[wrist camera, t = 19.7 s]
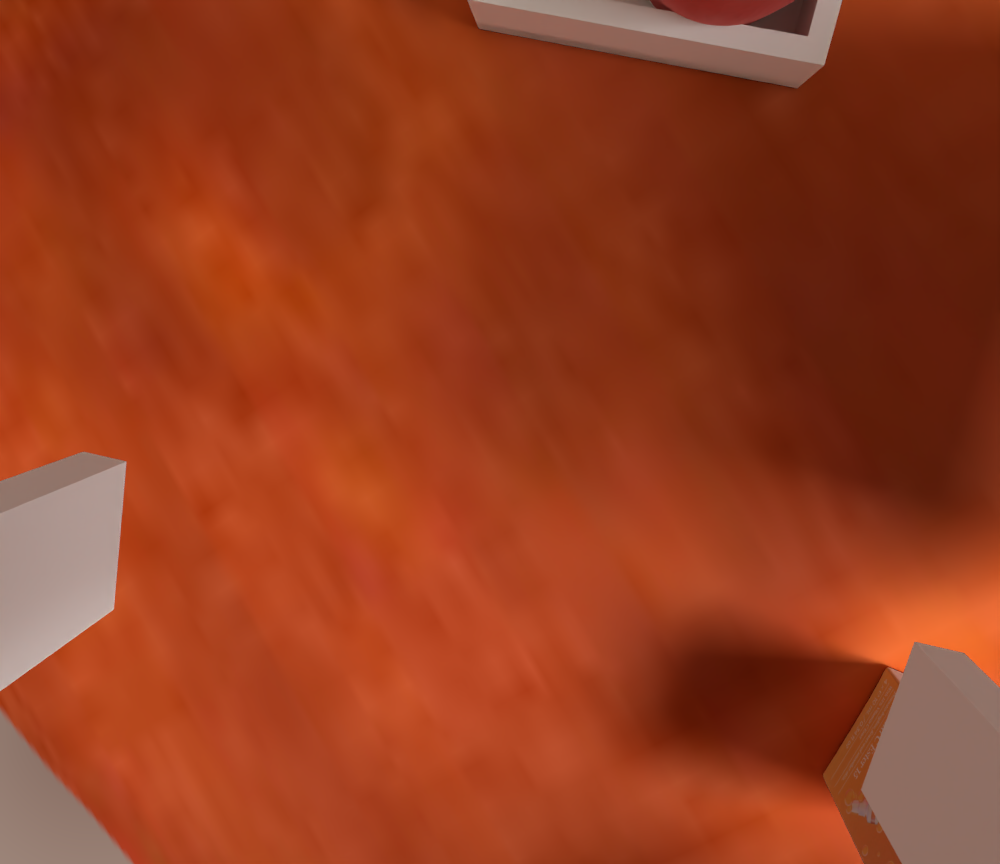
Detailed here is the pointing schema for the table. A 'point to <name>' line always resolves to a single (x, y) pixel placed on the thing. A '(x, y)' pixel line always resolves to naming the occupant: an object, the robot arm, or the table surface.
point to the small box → (863, 774)
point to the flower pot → (722, 10)
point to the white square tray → (676, 34)
